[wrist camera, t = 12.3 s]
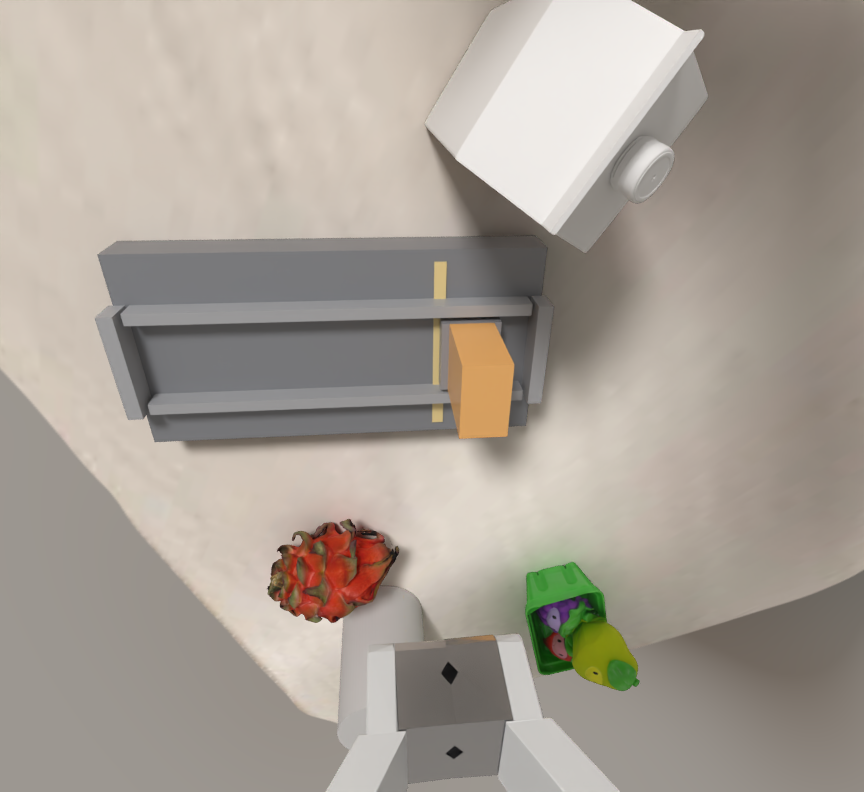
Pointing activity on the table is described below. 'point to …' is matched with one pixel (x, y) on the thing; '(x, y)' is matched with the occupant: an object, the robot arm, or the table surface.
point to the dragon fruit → (330, 572)
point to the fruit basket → (575, 629)
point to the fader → (476, 375)
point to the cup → (367, 625)
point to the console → (312, 330)
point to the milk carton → (571, 108)
